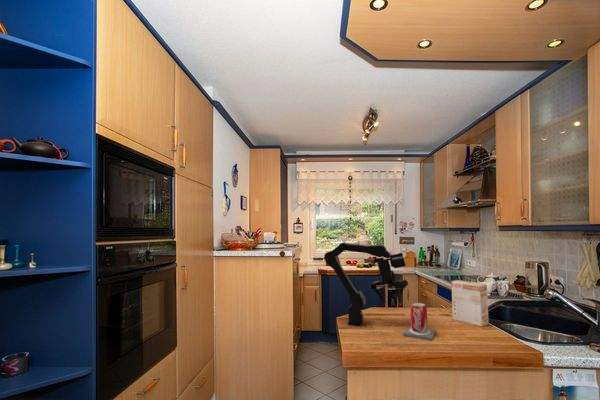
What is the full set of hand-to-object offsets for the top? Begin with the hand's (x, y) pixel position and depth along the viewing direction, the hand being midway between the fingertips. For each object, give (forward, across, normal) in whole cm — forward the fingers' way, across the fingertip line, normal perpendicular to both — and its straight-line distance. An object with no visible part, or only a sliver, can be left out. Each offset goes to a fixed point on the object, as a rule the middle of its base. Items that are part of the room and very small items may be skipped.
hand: (392, 302), depth 163 cm
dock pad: (+14, -12, +1) cm, 18 cm away
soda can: (+13, -12, +2) cm, 17 cm away
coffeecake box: (+19, -19, -33) cm, 43 cm away
